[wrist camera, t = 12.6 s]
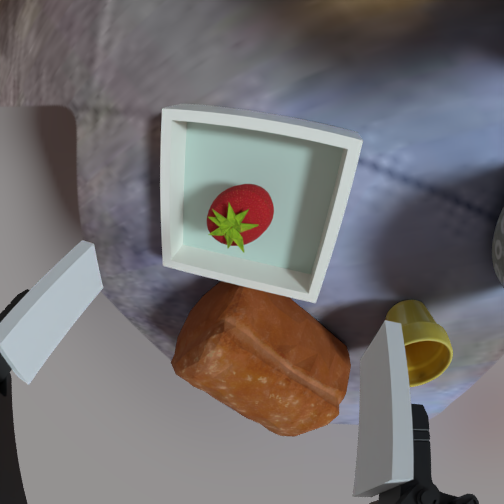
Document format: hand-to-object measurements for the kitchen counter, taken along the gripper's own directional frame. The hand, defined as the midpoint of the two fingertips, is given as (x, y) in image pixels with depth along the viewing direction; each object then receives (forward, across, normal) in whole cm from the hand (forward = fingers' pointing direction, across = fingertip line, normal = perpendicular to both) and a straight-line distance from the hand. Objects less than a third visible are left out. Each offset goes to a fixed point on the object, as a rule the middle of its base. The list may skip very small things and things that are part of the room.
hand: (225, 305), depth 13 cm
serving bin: (+24, -3, -6) cm, 25 cm away
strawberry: (+24, -3, -6) cm, 24 cm away
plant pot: (+24, +22, -19) cm, 38 cm away
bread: (+24, +3, -29) cm, 38 cm away
